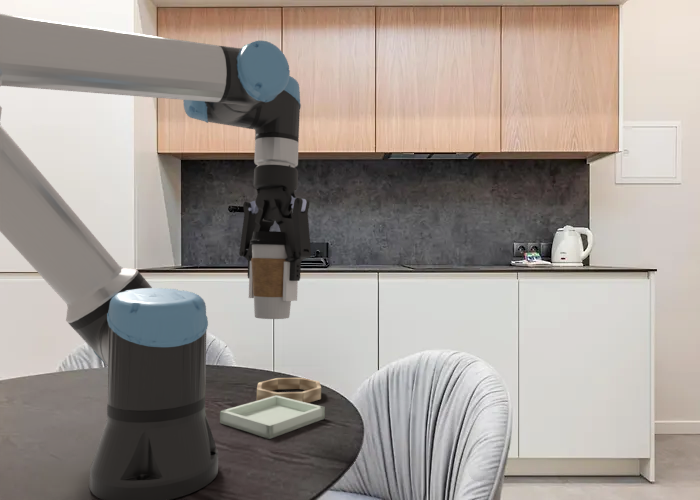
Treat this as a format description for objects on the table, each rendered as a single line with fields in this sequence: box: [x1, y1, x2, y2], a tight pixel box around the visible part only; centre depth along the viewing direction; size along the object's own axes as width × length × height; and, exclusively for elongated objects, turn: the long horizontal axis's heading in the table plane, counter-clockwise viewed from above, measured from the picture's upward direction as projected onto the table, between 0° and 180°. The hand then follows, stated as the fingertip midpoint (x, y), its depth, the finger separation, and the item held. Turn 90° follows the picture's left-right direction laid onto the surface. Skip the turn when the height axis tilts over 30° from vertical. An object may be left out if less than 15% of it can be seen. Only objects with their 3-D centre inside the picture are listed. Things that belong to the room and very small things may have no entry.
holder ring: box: [256, 377, 322, 404], centre depth 104 cm, size 13×13×2 cm
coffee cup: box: [250, 230, 292, 320], centre depth 89 cm, size 8×8×15 cm
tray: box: [219, 395, 326, 440], centre depth 88 cm, size 13×12×2 cm
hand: (272, 299), depth 89 cm, fingers closed on coffee cup, 7 cm apart
